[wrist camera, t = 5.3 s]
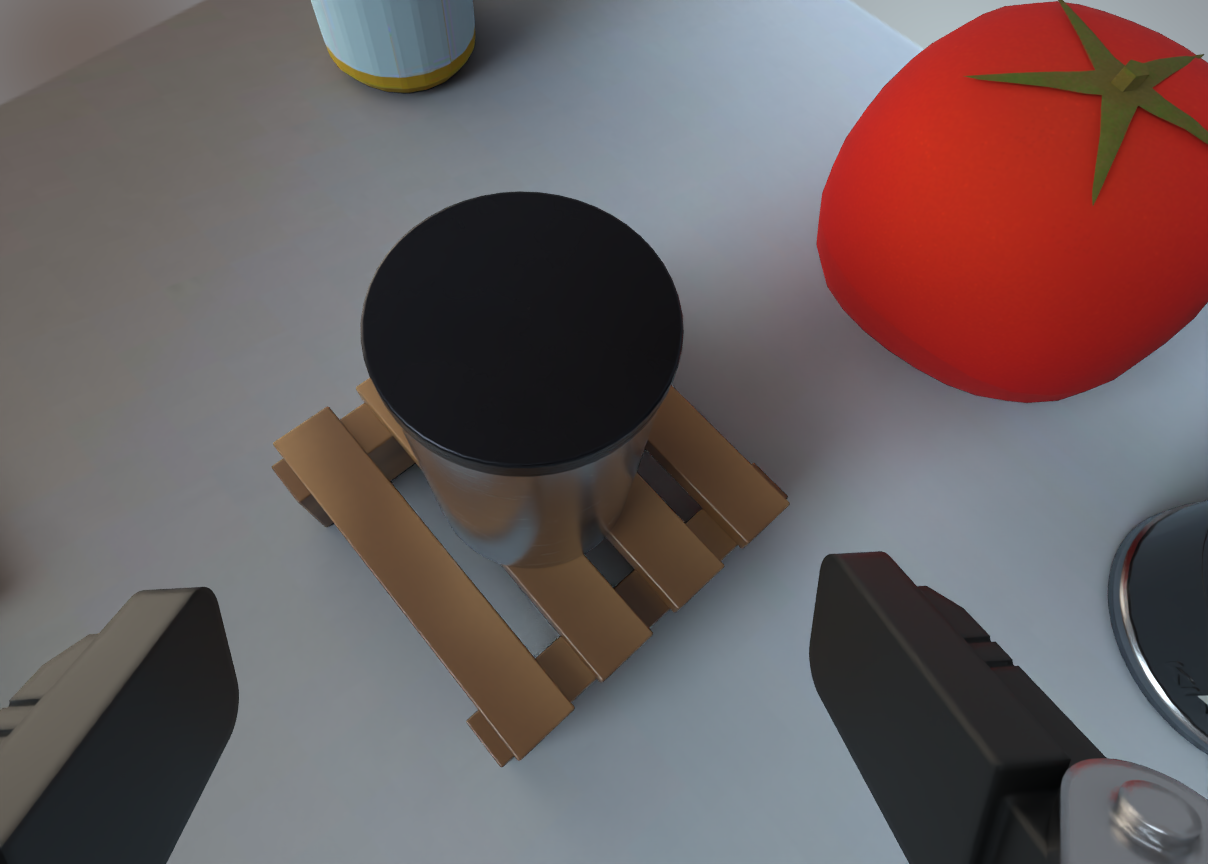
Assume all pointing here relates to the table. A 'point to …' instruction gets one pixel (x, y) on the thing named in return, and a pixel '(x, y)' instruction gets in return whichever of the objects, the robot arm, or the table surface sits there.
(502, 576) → the table surface
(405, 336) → the metal canister
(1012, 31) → the tomato
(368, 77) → the bottle
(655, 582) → the wooden pallet
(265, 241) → the table surface
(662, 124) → the table surface
